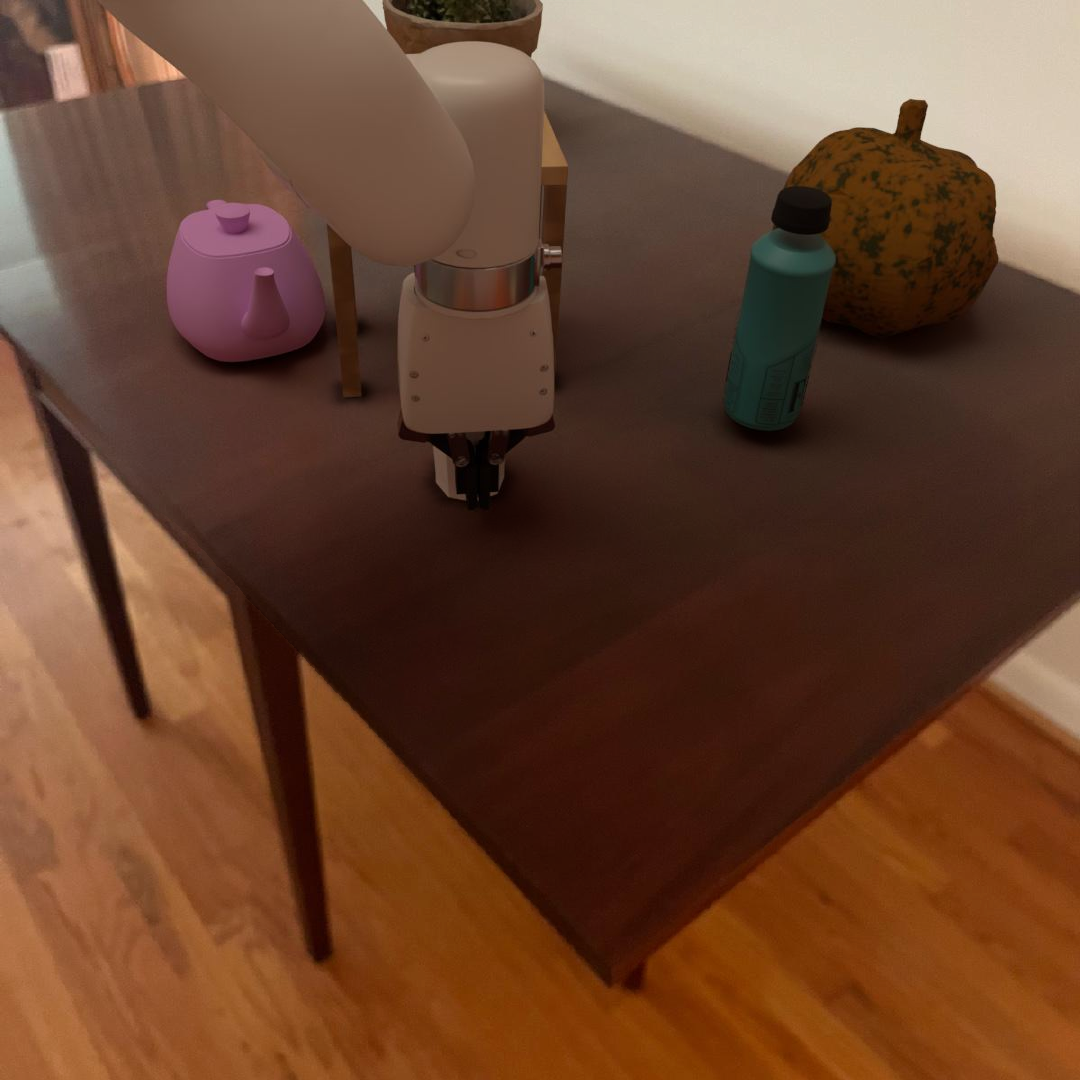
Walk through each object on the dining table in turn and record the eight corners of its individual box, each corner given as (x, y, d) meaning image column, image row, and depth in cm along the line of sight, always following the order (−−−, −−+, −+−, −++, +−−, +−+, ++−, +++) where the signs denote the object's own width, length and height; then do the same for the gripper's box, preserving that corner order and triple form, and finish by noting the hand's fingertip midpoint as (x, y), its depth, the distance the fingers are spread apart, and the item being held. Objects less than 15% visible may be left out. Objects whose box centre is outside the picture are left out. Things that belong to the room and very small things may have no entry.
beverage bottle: (788, 455, 85) (848, 221, 71) (708, 435, 86) (752, 203, 73) (802, 412, 89) (860, 185, 76) (726, 394, 91) (769, 168, 77)
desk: (343, 397, 88) (321, 171, 75) (341, 323, 97) (320, 109, 84) (554, 386, 91) (568, 165, 78) (533, 315, 99) (542, 106, 86)
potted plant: (370, 118, 134) (355, -108, 117) (503, 101, 140) (507, -115, 123) (419, 174, 122) (411, -68, 105) (563, 153, 128) (576, -79, 111)
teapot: (155, 300, 98) (128, 178, 90) (294, 274, 103) (279, 156, 95) (208, 414, 85) (181, 284, 77) (363, 379, 90) (353, 252, 82)
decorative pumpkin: (791, 360, 94) (848, 129, 82) (740, 266, 110) (781, 63, 98) (1005, 368, 96) (1091, 144, 84) (923, 275, 112) (985, 77, 100)
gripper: (586, 235, 67) (569, 460, 80) (350, 242, 65) (371, 472, 78) (608, 293, 62) (587, 525, 74) (352, 303, 60) (374, 539, 72)
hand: (476, 497), depth 76 cm, fingers closed
